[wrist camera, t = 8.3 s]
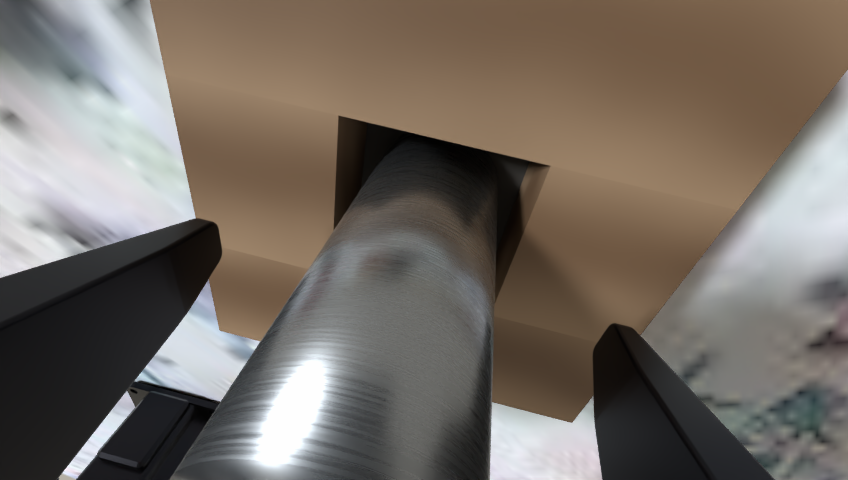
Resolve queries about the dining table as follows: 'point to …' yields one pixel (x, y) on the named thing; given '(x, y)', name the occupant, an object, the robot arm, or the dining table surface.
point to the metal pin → (377, 339)
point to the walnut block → (496, 143)
